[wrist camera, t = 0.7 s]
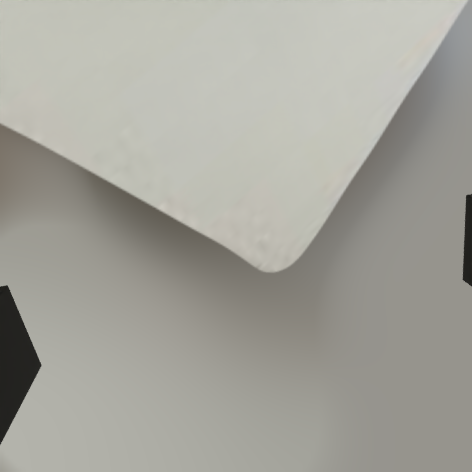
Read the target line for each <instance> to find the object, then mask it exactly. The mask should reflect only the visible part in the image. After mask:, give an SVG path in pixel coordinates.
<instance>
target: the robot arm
mask: <svg viewBox="0 0 472 472" xmlns="http://www.w3.org/2000/svg"><path fill="white" fill-rule="evenodd" d="M463 280H464V281H465V282H467V283H468V284H469V285H471V286H472V194H471V195H467V196H466V214H465V240H464V264H463ZM40 367H41V363H40V361H39V358H38V356H37V353H36V351H35V349H34V347H33V344H32V342H31V340H30V337H29V335H28V332H27V330H26V328H25V325H24V323H23V321H22V318H21V316H20V313H19V311H18V309H17V307H16V304H15V302H14V299H13V297H12V295H11V292H10V290H9V288H8V286H1V287H0V444H1V442H2V440H3V438H4V437H5V435H6V433H7V431H8V429H9V427H10V425H11V423H12V421H13V419H14V417H15V415H16V413H17V412H18V409H19V408H20V406H21V404H22V402H23V400H24V398H25V396H26V394H27V392H28V390H29V389H30V387H31V384H32V383H33V381H34V379H35V377H36V375H37V373H38V371H39V369H40Z"/></svg>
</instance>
